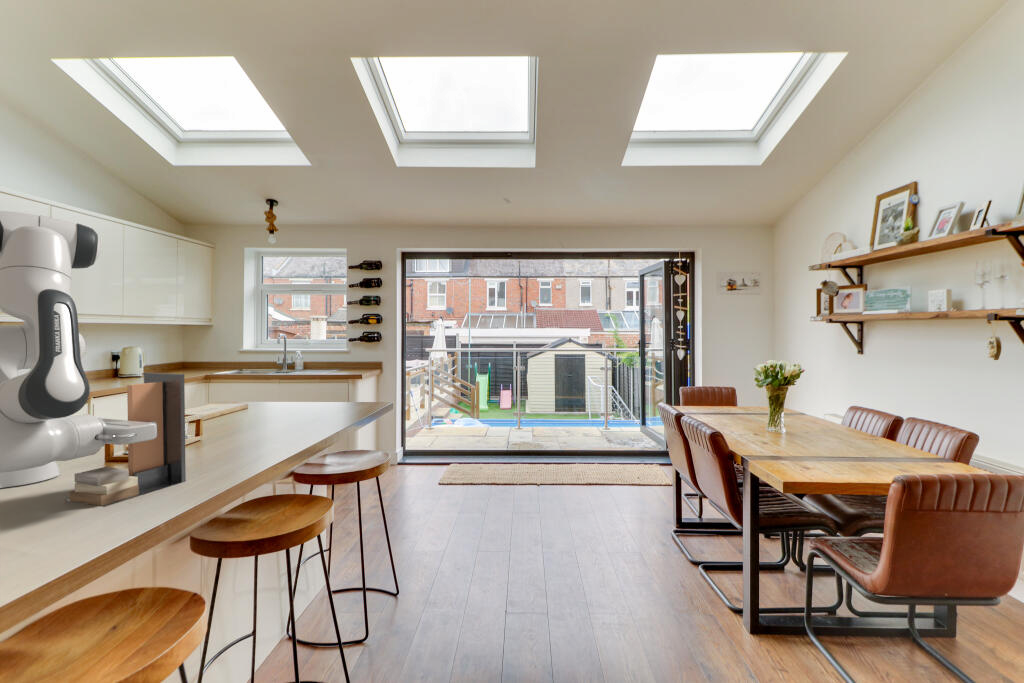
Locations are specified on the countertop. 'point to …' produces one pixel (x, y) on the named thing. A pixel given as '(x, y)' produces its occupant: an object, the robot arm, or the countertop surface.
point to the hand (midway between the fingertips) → (147, 423)
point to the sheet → (144, 408)
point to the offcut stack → (104, 486)
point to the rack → (166, 438)
